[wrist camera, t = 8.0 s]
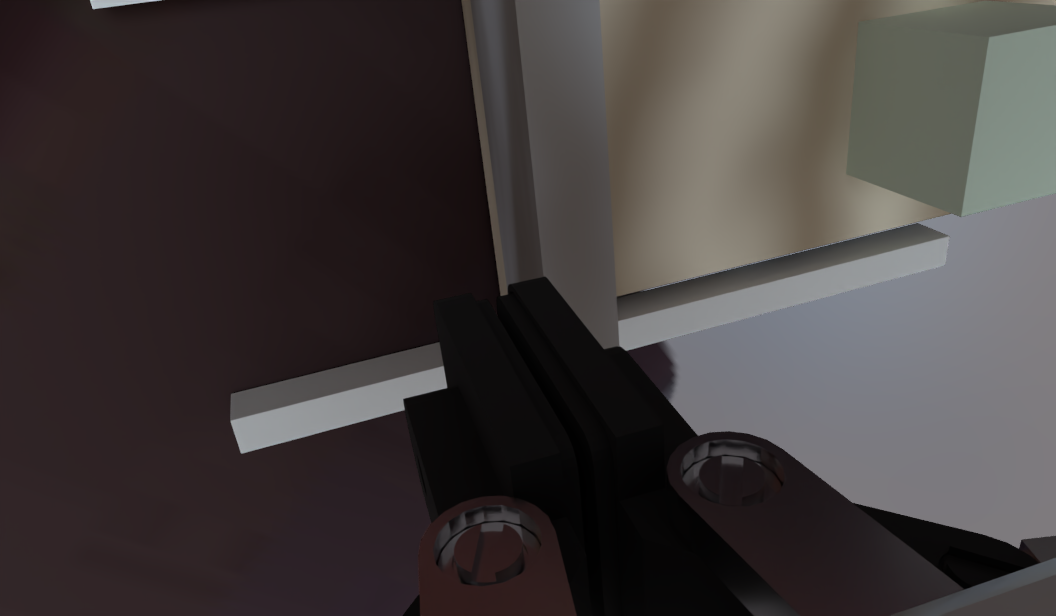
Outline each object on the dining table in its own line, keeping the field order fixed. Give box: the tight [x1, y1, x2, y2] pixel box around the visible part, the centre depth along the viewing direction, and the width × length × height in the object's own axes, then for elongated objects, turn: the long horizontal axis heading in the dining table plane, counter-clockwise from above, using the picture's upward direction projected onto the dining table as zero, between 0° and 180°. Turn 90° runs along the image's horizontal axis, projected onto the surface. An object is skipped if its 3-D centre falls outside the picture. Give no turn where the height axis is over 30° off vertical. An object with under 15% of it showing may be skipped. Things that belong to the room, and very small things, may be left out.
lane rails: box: [90, 0, 950, 454], centre depth 24 cm, size 26×14×2 cm, turn 97°
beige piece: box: [461, 0, 1056, 349], centre depth 24 cm, size 24×10×5 cm, turn 97°
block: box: [846, 1, 1056, 217], centre depth 24 cm, size 5×5×5 cm
